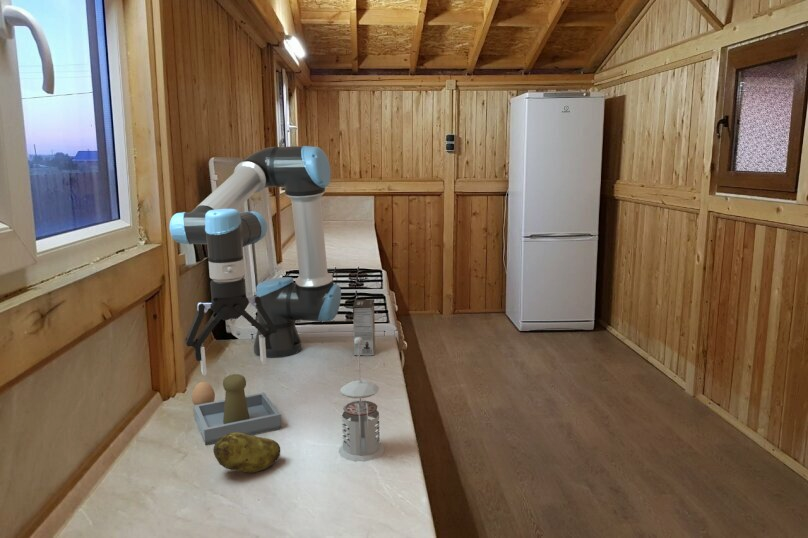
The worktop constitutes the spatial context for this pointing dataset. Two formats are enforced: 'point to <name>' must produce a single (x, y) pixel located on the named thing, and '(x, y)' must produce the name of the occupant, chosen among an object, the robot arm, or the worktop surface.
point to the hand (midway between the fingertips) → (234, 368)
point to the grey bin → (260, 421)
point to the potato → (246, 452)
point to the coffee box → (364, 326)
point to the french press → (360, 421)
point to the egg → (203, 394)
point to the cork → (235, 399)
